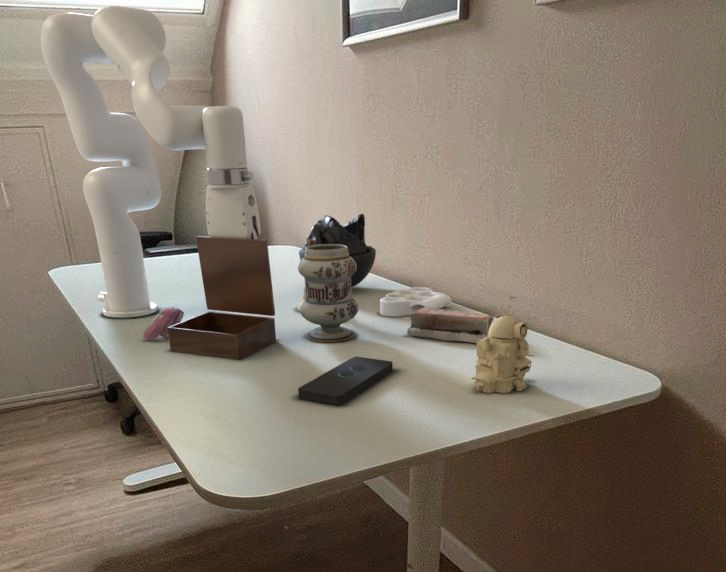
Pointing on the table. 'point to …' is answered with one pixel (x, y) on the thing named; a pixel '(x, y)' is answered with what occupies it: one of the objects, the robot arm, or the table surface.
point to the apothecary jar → (328, 291)
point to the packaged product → (449, 325)
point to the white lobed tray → (412, 301)
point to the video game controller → (163, 323)
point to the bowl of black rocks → (345, 242)
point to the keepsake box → (222, 334)
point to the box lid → (236, 275)
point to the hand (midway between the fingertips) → (237, 275)
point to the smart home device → (345, 380)
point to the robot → (503, 356)
